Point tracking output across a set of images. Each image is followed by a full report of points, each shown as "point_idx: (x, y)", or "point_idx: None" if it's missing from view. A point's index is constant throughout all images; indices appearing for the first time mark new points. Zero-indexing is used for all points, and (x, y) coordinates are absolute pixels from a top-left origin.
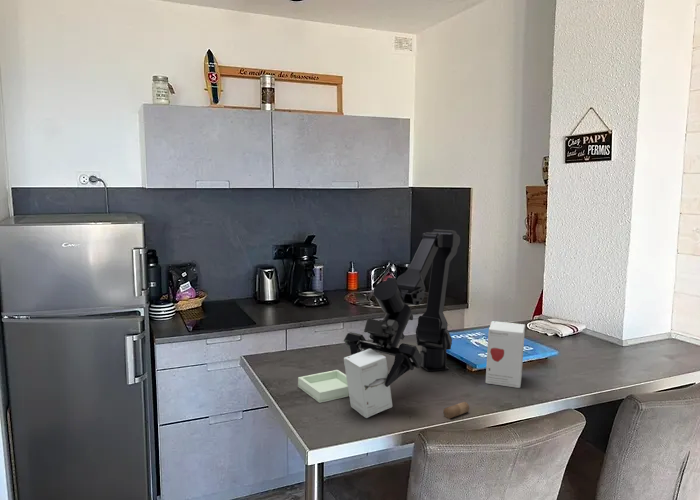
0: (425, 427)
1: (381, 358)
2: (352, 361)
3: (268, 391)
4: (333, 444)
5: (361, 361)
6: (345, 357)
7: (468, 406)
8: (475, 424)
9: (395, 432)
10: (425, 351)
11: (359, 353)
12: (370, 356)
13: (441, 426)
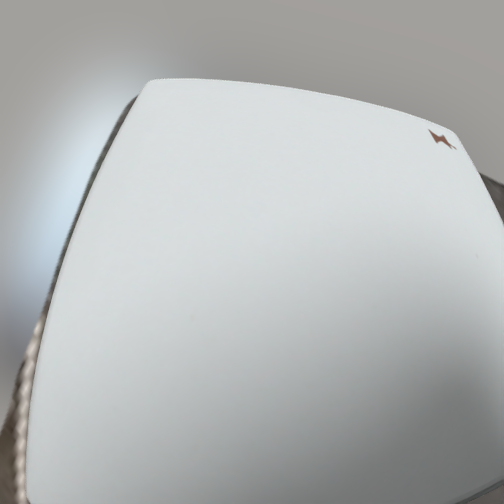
0: (20, 440)
1: (36, 401)
2: (326, 98)
3: (483, 175)
4: (114, 132)
5: (241, 127)
6: (454, 136)
7: None
8: None
9: (40, 329)
10: None
11: (495, 256)
12: (299, 306)
13: (9, 481)
